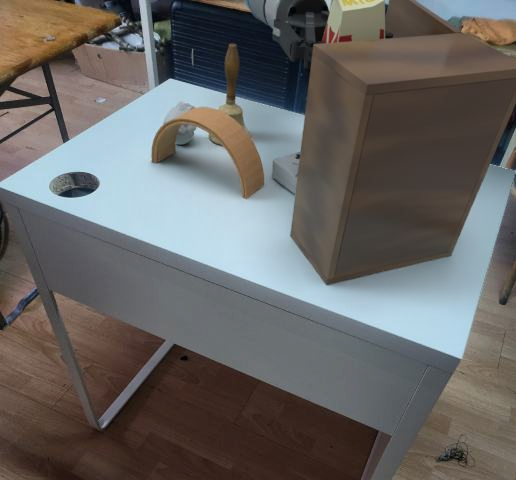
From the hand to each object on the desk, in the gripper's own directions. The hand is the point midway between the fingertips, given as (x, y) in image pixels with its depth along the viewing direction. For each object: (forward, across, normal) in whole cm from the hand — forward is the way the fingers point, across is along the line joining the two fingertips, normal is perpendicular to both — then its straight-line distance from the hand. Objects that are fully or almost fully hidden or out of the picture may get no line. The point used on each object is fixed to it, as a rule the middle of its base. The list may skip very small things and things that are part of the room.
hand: (372, 67), depth 64 cm
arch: (-18, +17, -22) cm, 33 cm away
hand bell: (-30, +8, -22) cm, 38 cm away
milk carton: (-5, 0, -11) cm, 12 cm away
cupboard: (+9, 0, -22) cm, 24 cm away
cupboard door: (-8, -15, -22) cm, 28 cm away
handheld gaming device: (-11, -2, -22) cm, 25 cm away
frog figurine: (-30, +18, -22) cm, 42 cm away
